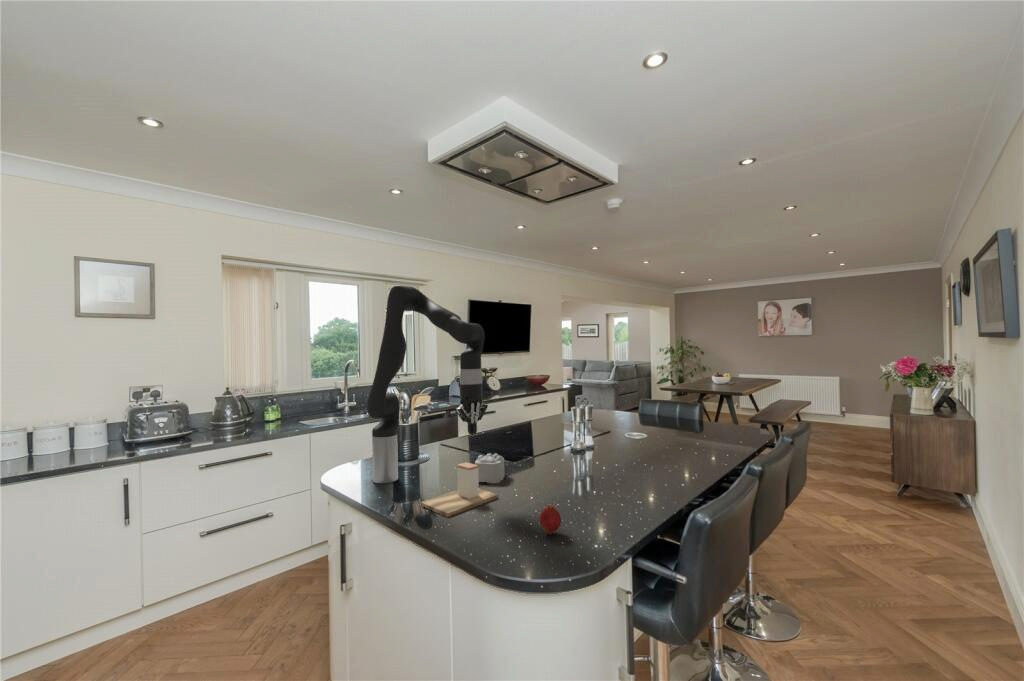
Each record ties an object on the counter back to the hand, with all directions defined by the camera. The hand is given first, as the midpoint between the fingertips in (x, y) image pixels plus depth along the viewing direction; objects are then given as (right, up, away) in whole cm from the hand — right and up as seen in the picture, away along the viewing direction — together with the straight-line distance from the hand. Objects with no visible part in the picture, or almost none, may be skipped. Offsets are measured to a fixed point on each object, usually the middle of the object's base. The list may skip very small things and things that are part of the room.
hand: (472, 433), depth 145 cm
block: (-1, -20, -2) cm, 20 cm away
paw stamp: (+5, -22, +21) cm, 31 cm away
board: (-4, -21, -4) cm, 22 cm away
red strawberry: (+24, -21, -29) cm, 43 cm away
